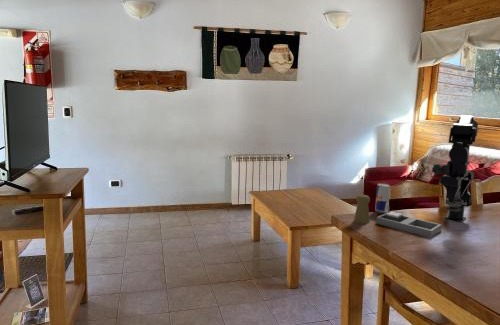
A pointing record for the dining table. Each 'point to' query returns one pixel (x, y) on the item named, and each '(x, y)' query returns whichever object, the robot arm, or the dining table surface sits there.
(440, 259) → the dining table surface
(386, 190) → the energy drink
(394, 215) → the plugged module
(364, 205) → the olive pepper mill
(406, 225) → the socket strip
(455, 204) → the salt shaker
